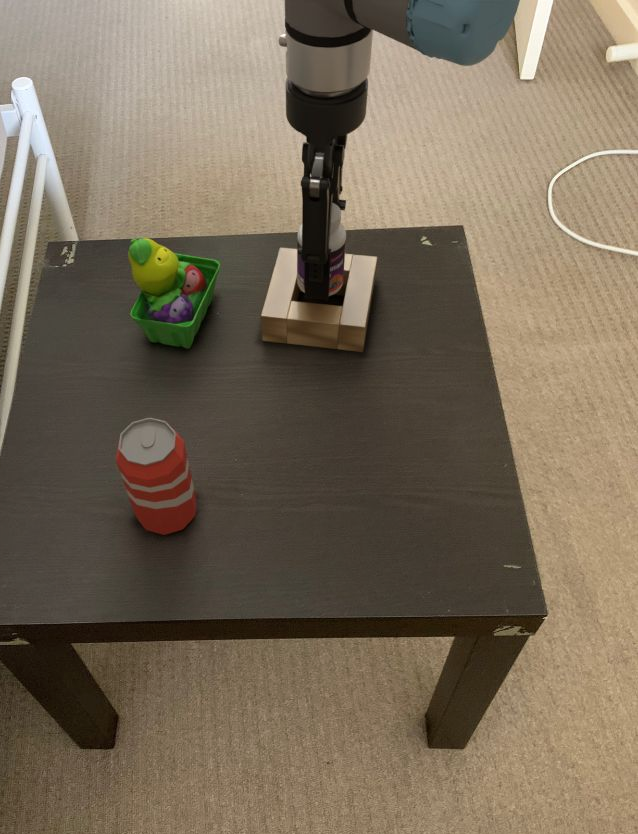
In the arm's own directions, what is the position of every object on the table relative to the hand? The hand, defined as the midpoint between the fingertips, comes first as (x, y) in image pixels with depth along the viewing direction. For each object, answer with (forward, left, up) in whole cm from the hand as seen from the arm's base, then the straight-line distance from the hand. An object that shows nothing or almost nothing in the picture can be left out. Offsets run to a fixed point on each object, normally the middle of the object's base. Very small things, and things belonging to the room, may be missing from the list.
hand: (320, 278), depth 87 cm
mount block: (0, 0, -5) cm, 5 cm away
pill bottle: (0, 0, -1) cm, 1 cm away
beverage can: (+11, +31, -5) cm, 33 cm away
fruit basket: (+17, +4, -5) cm, 18 cm away
